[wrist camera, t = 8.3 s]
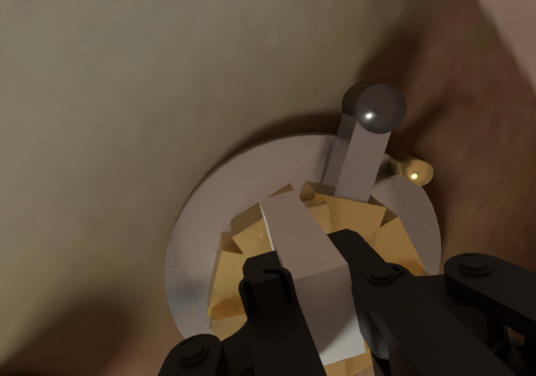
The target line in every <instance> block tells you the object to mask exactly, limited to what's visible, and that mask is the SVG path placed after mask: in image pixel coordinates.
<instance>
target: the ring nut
mask: <svg viewBox="0 0 536 376" xmlns="http://www.w3.org/2000/svg"><path fill="white" fill-rule="evenodd" d="M342 112H343V115H342V118H341V122H340V125H339V128H338V132H337V135H336V139H335V142H334V145H333V149H332V152H331V155H330V159H329V162H328V166H327V169H326V172H325V176H324V179H323V183H322V184H321V183H316V182H311V181H306V180H305V182H304V186H303V189H302V193H301V196H300V199H301V201H302V202H303V203H304V205H305V206H306V208H307V209H308V210H309V212H310V213H311V214H312V216H313V217H314V218H315V220H316V221H317V223H318V224H319V225H320V227H321V228H322V229H323V231H324V232H325V233H326V234H329V233H332V232H336V231H339V230H343V229H346V228H347V229H350V230H352V231H355V232H358V233H359V234H360V235H361V236H362V237H363V238H364V240H365V241H366V242H367V243H368V244H369V245H370V246H371V247H372V248H373V249H374V250H375V251H376V252H377V253H378V254H379V255H380V256H381V257H382V258H383V259H384V260H385V262H386V263H395V264H399V265H401V266H403V267H405V268H406V269H408V270H409V271H410V272H411V273H412V274H413V275H414V276H430V274H429V273H428V272H427V271H426V269H425V267H424V265H423V263H422V261H421V259H420V257H419V256H418V254H417V252H416V250H415V248H414V246H413V244H412V242H411V240H410V238H409V236H408V234H407V232H406V230H405V228H404V226H403V225H402V223H401V221H400V219H399V217H398V216H397V215H396V214H395V213H393V212H392V211H391V210H390V209H388V208H387V207H386V206H385V205H383V204H382V203H381V202H379V201H378V200H376V199H375V198H374V197H373V196H371V195H370V194H371V191H372V188H373V185H374V182H375V179H376V176H377V173H378V170H379V167H380V164H381V161H382V158H383V155H384V152H385V149H386V146H387V143H388V140H389V137H390V134H391V131H393V130H394V129H395V128H397V127H398V126H399V124H400V123H401V122H402V120H403V118H404V116H405V113H406V100H405V97H404V95H403V93H402V92H401V90H400V89H399V88H397V87H396V86H394V85H391V84H386V83H373V82H360V83H357V84H355V85H353V86H352V87H350V88H349V89H348V90H347V92H346V93H345V95H344V97H343V100H342ZM292 190H294V189H293V187H292V186H291V184H290V183H289V184H287V185H286V186H284V187H283V188H281V189H279V190H278V191H276V192H274V193H273V194H271V195H270V196H268V197H271V196H274V195H278V194H282V193H285V192H289V191H292ZM294 191H295V190H294ZM295 193H296V192H295ZM296 194H297V193H296ZM266 198H267V197H266ZM230 224H231V234H230V233H225V232H221V235H220V239H219V244H218V248H217V252H216V257H215V261H214V265H213V270H212V274H211V278H210V283H209V287H208V292H207V316H206V317H210V331H211V332H212V333H213V335H215V336H217V337H218V338H219V340H220V341H222V340H224V339H226V338H228V337H229V336H231V335H233V334H234V333H236V332H237V331H238V330H239V329H240V328H241V327H242V326H243V325H244V324H245V322H246V321H247V316H246V313H245V310H244V307H243V303H242V300H241V297H240V294H239V290H238V287H239V283H240V281H241V280H242V279H243V278H244V276H243V269H242V267H243V265H244V263H245V261H246V259H247V258H250V257H253V256H257V255H260V254H264V253H267V252H270V251H272V248H271V244H270V240H269V237H268V233H267V229H266V225H265V222H264V218H263V214H262V210H261V207H260V203H259V202H258V203H257V204H255V205H253V206H252V207H250V208H249V209H247V210H245V211H244V212H242V213H240V214H239V215H237V216H236V217H234V218H232V219H231V220H230ZM363 341H364V346H365V351H366V353H363V354H360V355H357V356H353V357H350V358H347V359H344V360H341V361H337V362H334V363H331V364H328V365H324V369H325V371H326V374H327V376H354V375H356V374H357V373H359V372H361V371H362V370H364V369H366V368H368V367H369V366H371V365H373V364H372V358H371V353H370V349H369V347H368V345H367V343H366V342H365V340H364V338H363Z"/></svg>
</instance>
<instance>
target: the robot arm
mask: <svg viewBox="0 0 536 376" xmlns="http://www.w3.org/2000/svg"><path fill="white" fill-rule="evenodd" d="M259 203H260V207H261V210H262V214H263V218H264V222H265V225H266V229H267V233H268V237H269V240H270V244H271V248H272V251H270V252H267V253H264V254H260V255H257V256H253V257H250V258H247V259H246V261H245V263H244V265H243V267H242V269H243V276H244V278H243V279H242V280H241V281H240V283H239V287H238V290H239V294H240V297H241V300H242V303H243V307H244V310H245V313H246V316H247V321H246V322H245V324H244V325H243V326H242V327H241V328H240V329H239V330H238V331H237V332H236V333H234V334H233V335H231V336H229V337H228V338H226V339H224V340H222V341H220V340H219V338H218V337H217V336H215V335H212V334H198V335H194V336H191V337H189V338H187V339H185V340H183V341H181V342H180V343H179V344H177V345H176V346H175V347H174V348H173V349H172V350H171V351H170V353H169V354H168V356H167V357H166V359H165V361H164V363H163V365H162V367H161V370H160V372H159V374H158V376H327V374H326V371H325V369H324V365H328V364H331V363H334V362H337V361H341V360H344V359H347V358H350V357H353V356H357V355H360V354H363V353H366V351H365V346H364V341H363V338H364V340H365V342H366V343H367V345H368V347H369V349H370V353H371V358H372V364H373V369H374V374H375V376H536V273H534V272H531V271H529V270H526V269H524V268H521V267H519V266H516V265H514V264H511V263H509V262H506V261H504V260H501V259H499V258H496V257H494V256H490V255H486V254H480V253H464V254H460V255H457V256H453V257H451V258H450V259H448V260H447V261H446V262H445V265H444V274H441V275H430V276H414V275H413V274H412V273H411V272H410V271H409V270H408V269H406V268H405V267H403V266H401V265H399V264H395V263H386V262H385V260H384V259H383V258H382V257H381V256H380V255H379V254H378V253H377V252H376V251H375V250H374V249H373V248H372V247H371V246H370V245H369V244H368V243H367V242H366V241H365V240H364V238H363V237H362V236H361V235H360V234H359V233H358V232H355V231H352V230H350V229H347V228H346V229H343V230H339V231H336V232H332V233H329V234H326V233H325V232H324V231H323V229H322V228H321V227H320V225H319V224H318V223H317V221H316V220H315V218H314V217H313V216H312V214H311V213H310V212H309V210H308V209H307V208H306V206H305V205H304V203H303V202H302V201H301V199H300V198H299V197H298V195H297V194H296V193H295V191H294V190H292V191H289V192H285V193H282V194H278V195H274V196H271V197H267V198H264V199H260V200H259ZM511 329H513V330H515V331H516V332H518V333H520V334H522V335H523V336H525V342H521V341H519V340H517V339H515V338H513V337H512V336H511Z"/></svg>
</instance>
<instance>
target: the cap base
mask: <svg viewBox="0 0 536 376" xmlns="http://www.w3.org/2000/svg"><path fill="white" fill-rule="evenodd" d="M336 135H337V134H333V133H329V132H313V131H306V132H293V133H286V134H282V135H277V136H272V137H269V138H266V139H263V140H260V141H257V142H255V143H252V144H250V145H248V146H246V147H244V148H242V149H240V150H238V151H236V152H235V153H233V154H232V155H230V156H229V157H227V158H226V159H224V160H223V161H221V162H220V163H219V164H217V165H216V166H215V167H214V168H213V169H212V170H211V171H210V172H208V173H207V174H206V175H205V176H204V177H203V179H202V180H201V181H200V182H199V183H198V184H197V185H196V187H195V188H194V189H193V190H192V192H191V193H190V195H189V196H188V198H187V200H186V201H185V203H184V204H183V206H182V208H181V210H180V212H179V215H178V217H177V219H176V221H175V224H174V228H173V231H172V234H171V237H170V241H169V245H168V248H167V255H166V261H165V289H166V295H167V301H168V304H169V307H170V310H171V314H172V316H173V318H174V321H175V323H176V325H177V327H178V329H179V331H180V332H181V333H182V335H183V336H184V338H185V339H187V338H189V337H191V336H194V335H198V334H212V335H213V333H212V332H211V331H210V317H206V316H207V292H208V287H209V283H210V278H211V274H212V270H213V265H214V261H215V257H216V252H217V248H218V244H219V239H220V235H221V232H225V233H230V234H231V224H230V220H231V219H232V218H234V217H236V216H237V215H239V214H240V213H242V212H244V211H245V210H247V209H249V208H250V207H252V206H253V205H255V204H257V203H258V202H259V200H260V199H264V198H266V197H268V196H270V195H271V194H273V193H274V192H276V191H278V190H279V189H281V188H283V187H284V186H286V185H287V184H289V183H290V184H291V186H292V187H293V189H294V190H295V192H296V193H297V195H298V197H299V198H300V196H301V193H302V189H303V186H304V182H305V180H306V181H311V182H316V183H321V184H322V183H323V179H324V176H325V172H326V169H327V166H328V162H329V159H330V155H331V152H332V149H333V145H334V142H335V139H336ZM433 174H434V170H433V167H432V166H431V165H430V164H429V163H427V162H424V161H422V160H420V159H418V158H415V157H413V156H411V155H408V154H406V153H404V152H398V153H396V154H394V155H393V156H392V157H391V156H389V155H387V154H385V153H384V155H383V158H382V161H381V164H380V167H379V170H378V173H377V176H376V179H375V182H374V185H373V188H372V191H371V194H370V195H371V196H373V197H374V198H375V199H376V200H378V201H379V202H381V203H382V204H383V205H385V206H386V207H387V208H388V209H390V210H391V211H392V212H393V213H395V214H396V215H397V216H398V217H399V219H400V221H401V223H402V225H403V226H404V228H405V230H406V232H407V234H408V236H409V238H410V240H411V242H412V244H413V246H414V248H415V250H416V252H417V254H418V256H419V257H420V259H421V261H422V263H423V265H424V267H425V269H426V271H427V272H428V273H429V274H430V275H438V273H439V269H440V259H441V236H440V230H439V225H438V220H437V217H436V214H435V211H434V208H433V206H432V204H431V202H430V200H429V198H428V196H427V194H426V192H425V190H424V189H423V188H422V186H423V185H426V184H427V183H429V182H430V181H431V179H432V177H433Z"/></svg>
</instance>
